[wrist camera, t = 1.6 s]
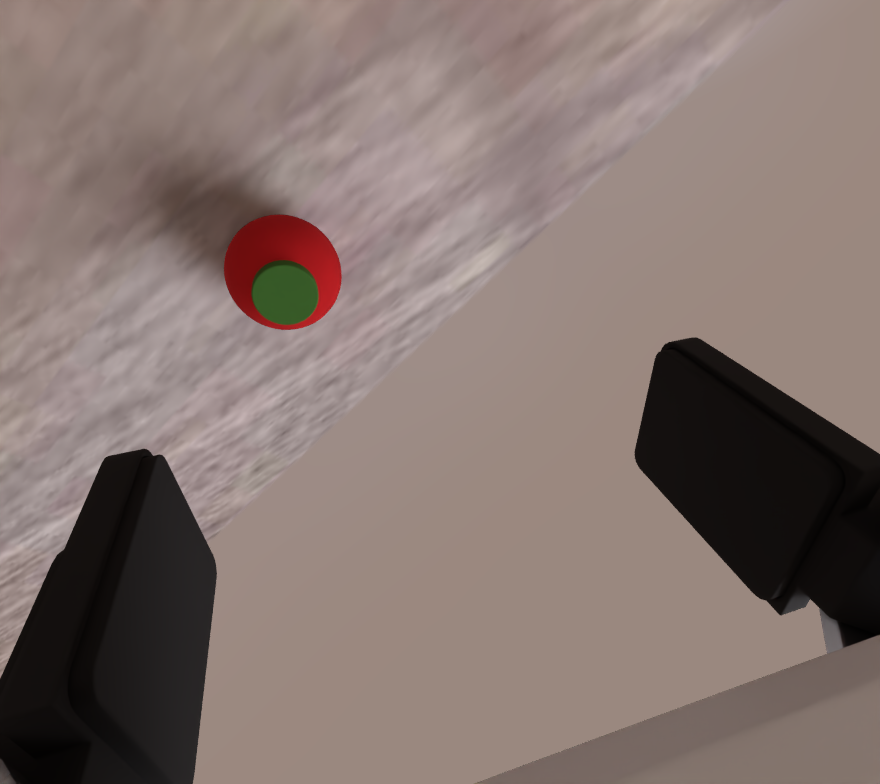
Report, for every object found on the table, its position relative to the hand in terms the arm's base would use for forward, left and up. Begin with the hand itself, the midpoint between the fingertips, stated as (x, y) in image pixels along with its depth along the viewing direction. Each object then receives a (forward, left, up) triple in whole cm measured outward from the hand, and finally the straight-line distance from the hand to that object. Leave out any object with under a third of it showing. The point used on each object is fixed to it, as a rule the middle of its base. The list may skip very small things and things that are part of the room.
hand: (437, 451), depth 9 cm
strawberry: (+1, -3, -16) cm, 16 cm away
